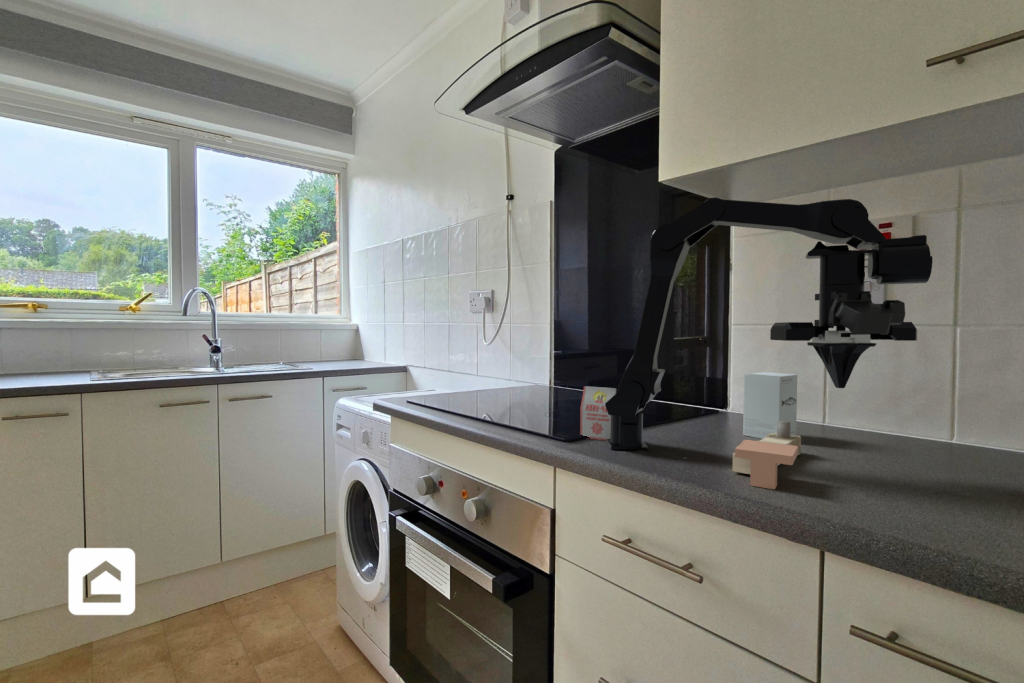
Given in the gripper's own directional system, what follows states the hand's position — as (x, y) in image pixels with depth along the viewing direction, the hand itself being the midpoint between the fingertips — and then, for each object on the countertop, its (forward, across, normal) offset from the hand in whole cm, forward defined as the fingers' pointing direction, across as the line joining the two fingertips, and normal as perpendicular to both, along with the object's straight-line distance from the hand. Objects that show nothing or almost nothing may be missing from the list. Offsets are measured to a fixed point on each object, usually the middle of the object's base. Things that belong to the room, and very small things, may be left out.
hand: (839, 388), depth 76 cm
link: (+12, -9, +3) cm, 15 cm away
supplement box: (+13, 0, +23) cm, 26 cm away
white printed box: (+13, -34, +20) cm, 41 cm away
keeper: (+12, -14, -7) cm, 20 cm away
